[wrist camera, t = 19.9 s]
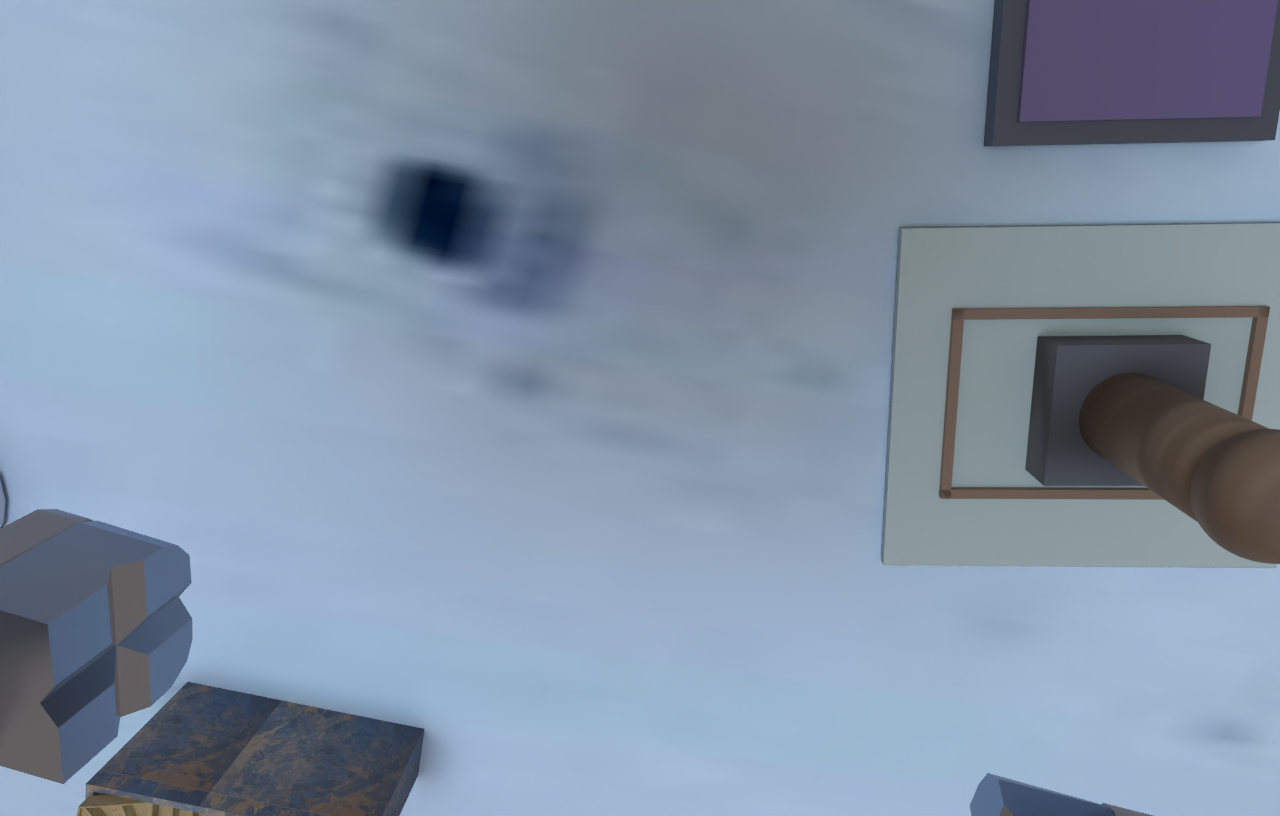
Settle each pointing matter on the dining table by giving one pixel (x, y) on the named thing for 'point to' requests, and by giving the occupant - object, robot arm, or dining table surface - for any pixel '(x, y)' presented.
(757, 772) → the dining table surface
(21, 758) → the robot arm
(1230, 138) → the ink pad
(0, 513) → the spray bottle
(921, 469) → the print card
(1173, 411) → the stamp
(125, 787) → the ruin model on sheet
